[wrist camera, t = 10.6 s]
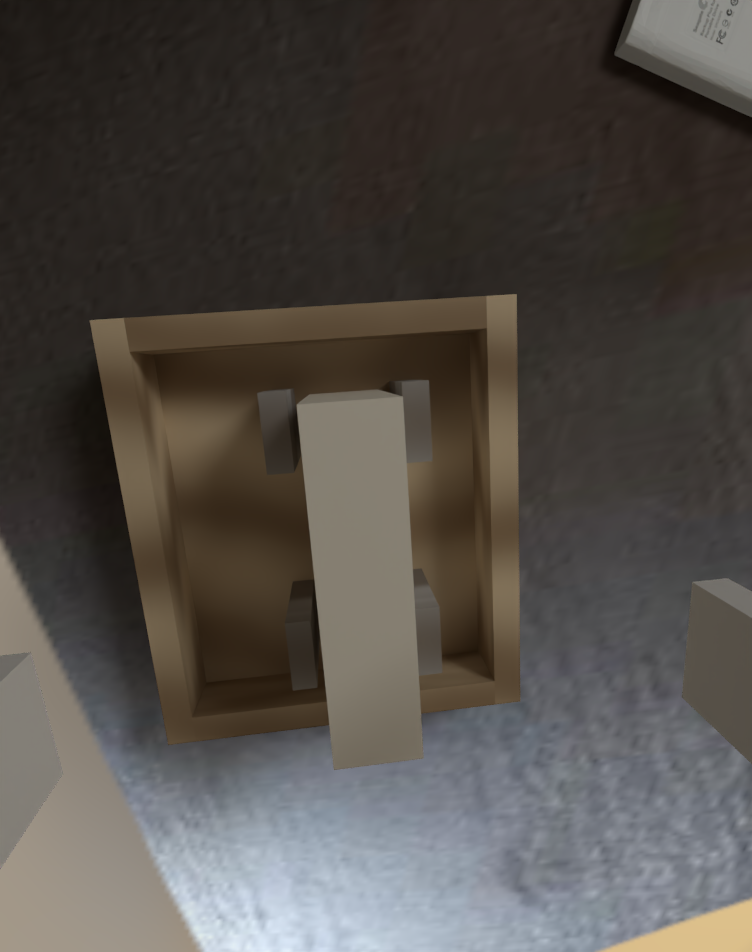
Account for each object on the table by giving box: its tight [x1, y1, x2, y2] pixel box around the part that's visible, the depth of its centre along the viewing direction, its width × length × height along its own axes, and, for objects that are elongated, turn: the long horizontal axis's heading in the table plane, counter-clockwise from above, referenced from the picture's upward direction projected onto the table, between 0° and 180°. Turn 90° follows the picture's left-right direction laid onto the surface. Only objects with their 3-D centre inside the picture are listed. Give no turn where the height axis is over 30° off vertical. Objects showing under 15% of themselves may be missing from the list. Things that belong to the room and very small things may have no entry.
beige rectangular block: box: [297, 389, 423, 770], centre depth 19 cm, size 12×3×8 cm, turn 4°
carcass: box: [90, 294, 520, 745], centre depth 21 cm, size 18×16×5 cm
